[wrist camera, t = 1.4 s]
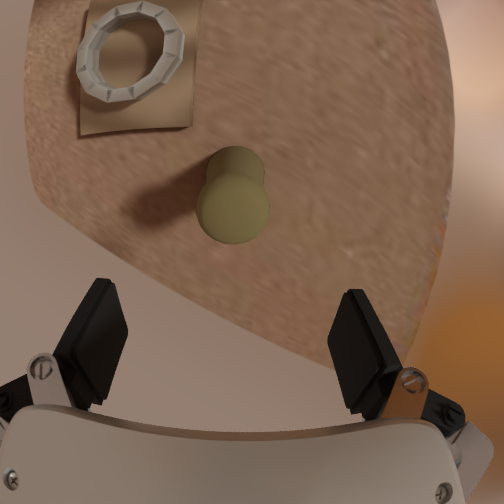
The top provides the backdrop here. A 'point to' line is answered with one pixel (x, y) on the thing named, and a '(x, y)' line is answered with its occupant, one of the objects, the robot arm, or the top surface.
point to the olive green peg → (233, 196)
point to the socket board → (138, 64)
